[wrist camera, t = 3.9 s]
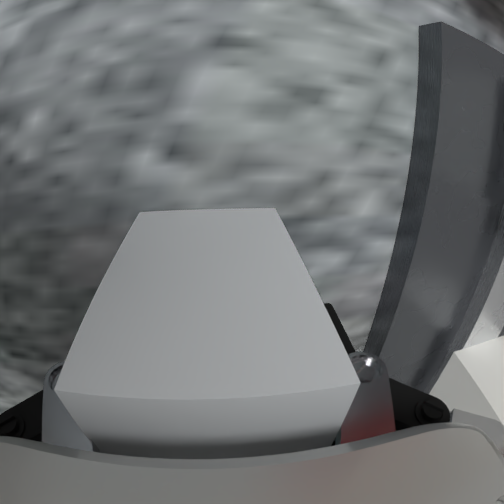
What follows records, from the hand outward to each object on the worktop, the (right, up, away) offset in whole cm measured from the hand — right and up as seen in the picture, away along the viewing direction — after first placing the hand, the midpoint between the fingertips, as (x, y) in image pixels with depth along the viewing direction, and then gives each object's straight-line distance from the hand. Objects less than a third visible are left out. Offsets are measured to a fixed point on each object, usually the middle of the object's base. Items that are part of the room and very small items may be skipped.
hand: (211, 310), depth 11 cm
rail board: (+15, +1, +3) cm, 15 cm away
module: (0, +1, +2) cm, 2 cm away
